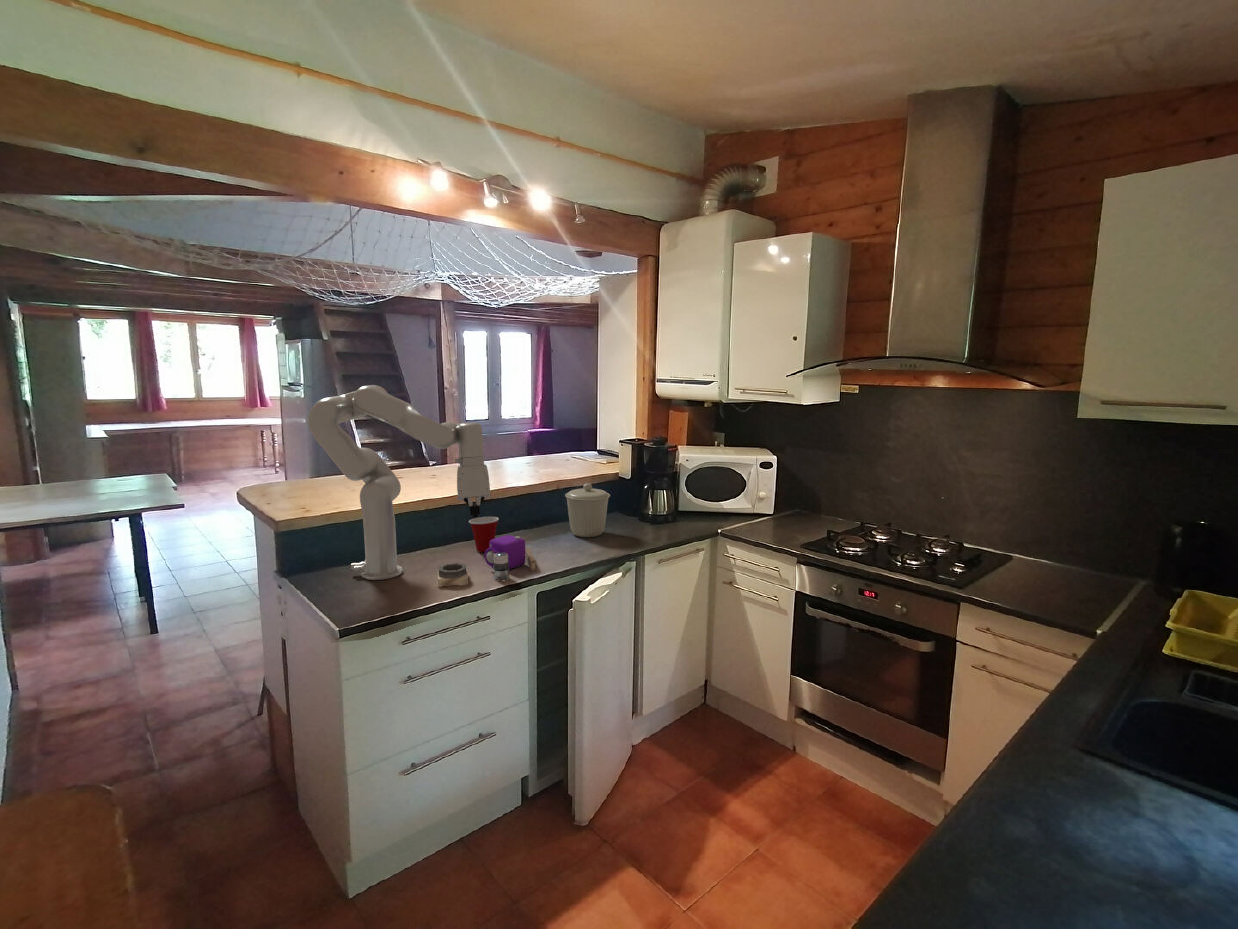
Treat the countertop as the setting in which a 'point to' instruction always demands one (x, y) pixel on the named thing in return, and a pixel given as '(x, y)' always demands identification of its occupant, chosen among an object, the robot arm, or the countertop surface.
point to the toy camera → (507, 550)
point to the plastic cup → (483, 531)
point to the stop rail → (530, 559)
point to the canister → (587, 511)
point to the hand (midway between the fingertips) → (475, 516)
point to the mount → (452, 574)
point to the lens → (501, 566)
